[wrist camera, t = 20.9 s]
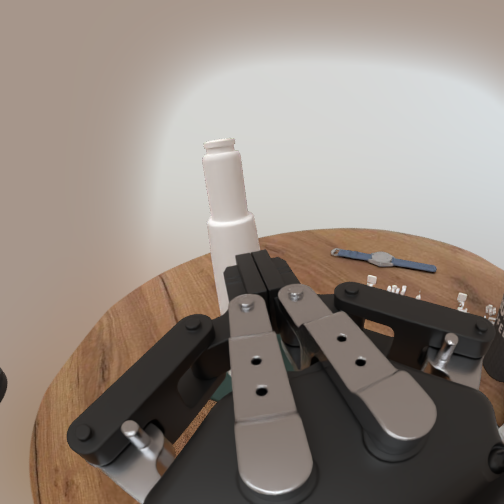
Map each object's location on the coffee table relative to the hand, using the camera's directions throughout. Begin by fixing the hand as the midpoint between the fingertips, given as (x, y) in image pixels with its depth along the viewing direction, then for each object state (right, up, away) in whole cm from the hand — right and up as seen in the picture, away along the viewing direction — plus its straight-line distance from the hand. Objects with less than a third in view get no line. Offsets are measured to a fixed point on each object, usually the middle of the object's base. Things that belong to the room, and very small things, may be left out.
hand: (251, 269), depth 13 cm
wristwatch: (+23, -1, +30) cm, 38 cm away
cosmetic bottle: (0, -11, +14) cm, 18 cm away
